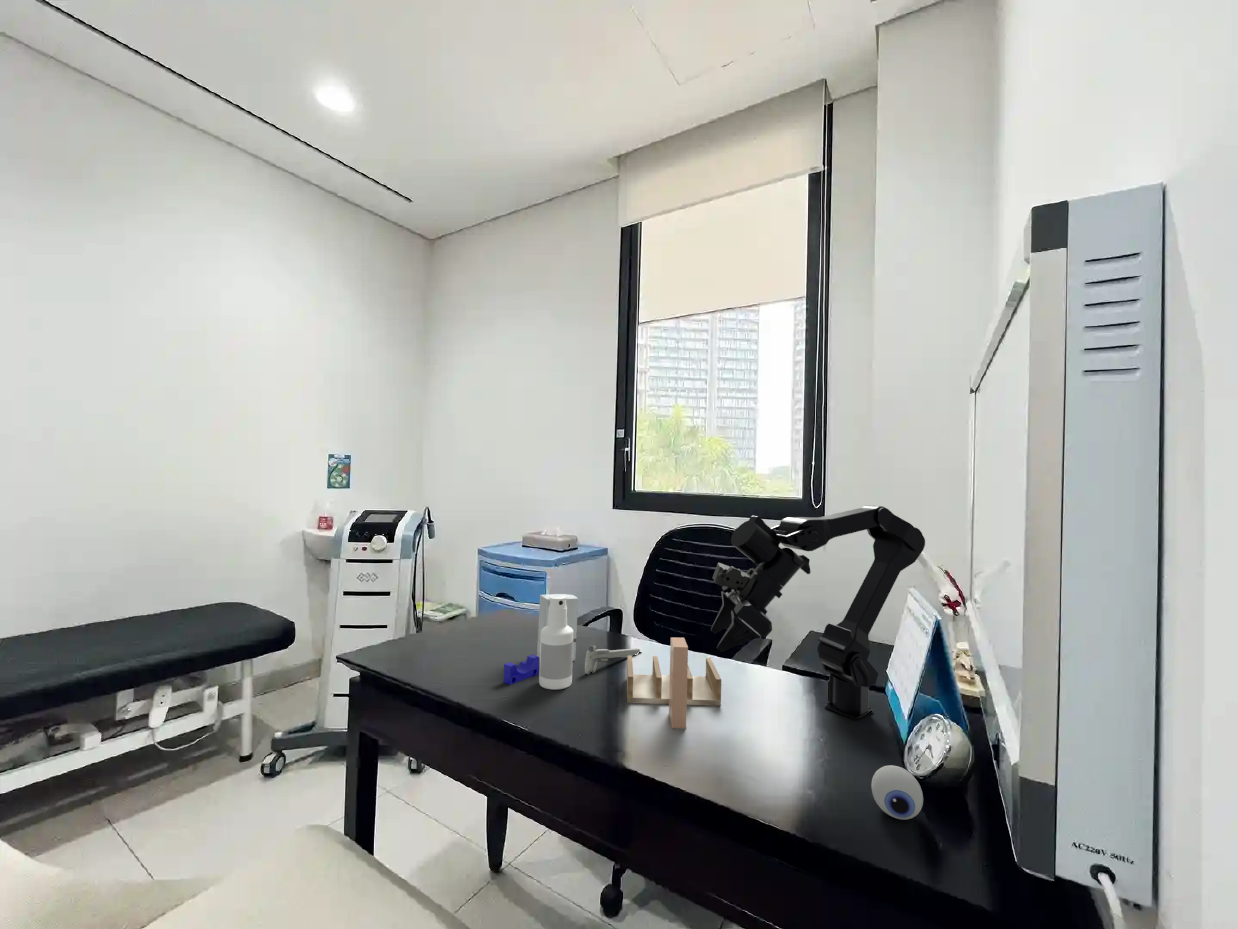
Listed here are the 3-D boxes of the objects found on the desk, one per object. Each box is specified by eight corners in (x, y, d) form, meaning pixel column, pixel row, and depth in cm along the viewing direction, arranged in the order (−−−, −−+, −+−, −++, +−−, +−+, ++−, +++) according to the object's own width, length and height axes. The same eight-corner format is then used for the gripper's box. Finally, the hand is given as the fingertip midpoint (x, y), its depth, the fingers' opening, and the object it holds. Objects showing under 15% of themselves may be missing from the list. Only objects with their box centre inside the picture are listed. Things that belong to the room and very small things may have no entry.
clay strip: (682, 714, 95) (684, 637, 96) (686, 728, 90) (688, 647, 90) (668, 713, 95) (670, 637, 96) (671, 728, 90) (673, 647, 90)
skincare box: (542, 664, 118) (544, 599, 119) (536, 656, 124) (538, 594, 125) (577, 660, 122) (579, 597, 122) (569, 652, 127) (571, 592, 128)
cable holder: (527, 671, 115) (527, 653, 115) (538, 675, 113) (538, 656, 113) (498, 681, 109) (499, 662, 109) (509, 686, 106) (510, 666, 107)
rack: (710, 681, 111) (710, 658, 111) (720, 705, 99) (721, 679, 99) (626, 678, 111) (627, 655, 112) (627, 702, 99) (628, 676, 100)
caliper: (587, 676, 113) (588, 647, 113) (584, 675, 113) (585, 646, 114) (642, 653, 129) (643, 628, 129) (639, 652, 129) (639, 627, 130)
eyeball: (873, 822, 66) (874, 775, 66) (868, 796, 72) (869, 752, 72) (927, 835, 64) (927, 786, 64) (918, 807, 70) (918, 762, 70)
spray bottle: (545, 692, 103) (548, 602, 104) (534, 680, 109) (537, 594, 110) (576, 687, 106) (579, 599, 107) (564, 675, 112) (567, 592, 113)
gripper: (728, 539, 104) (678, 598, 105) (745, 558, 85) (685, 629, 86) (771, 575, 103) (721, 634, 104) (798, 601, 85) (736, 672, 86)
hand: (715, 640), depth 95 cm, fingers open, 9 cm apart
